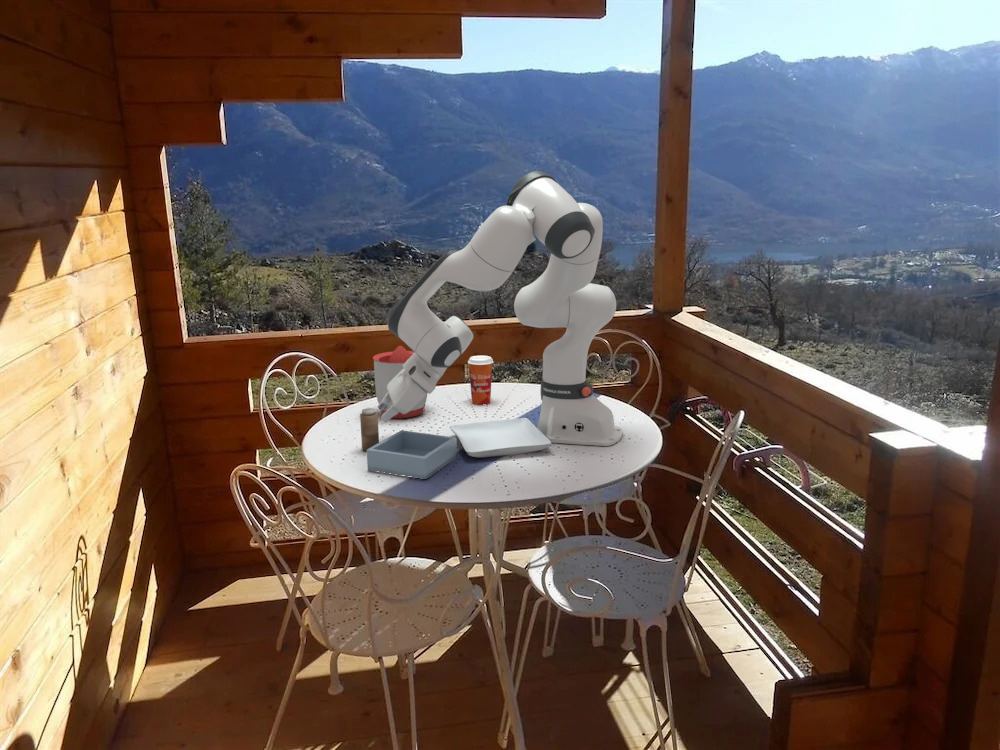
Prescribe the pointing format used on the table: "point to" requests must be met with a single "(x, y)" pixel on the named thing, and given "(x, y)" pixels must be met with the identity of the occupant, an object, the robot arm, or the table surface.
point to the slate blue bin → (412, 454)
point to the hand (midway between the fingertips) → (381, 414)
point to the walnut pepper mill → (369, 428)
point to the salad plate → (500, 437)
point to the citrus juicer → (387, 370)
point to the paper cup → (480, 379)
